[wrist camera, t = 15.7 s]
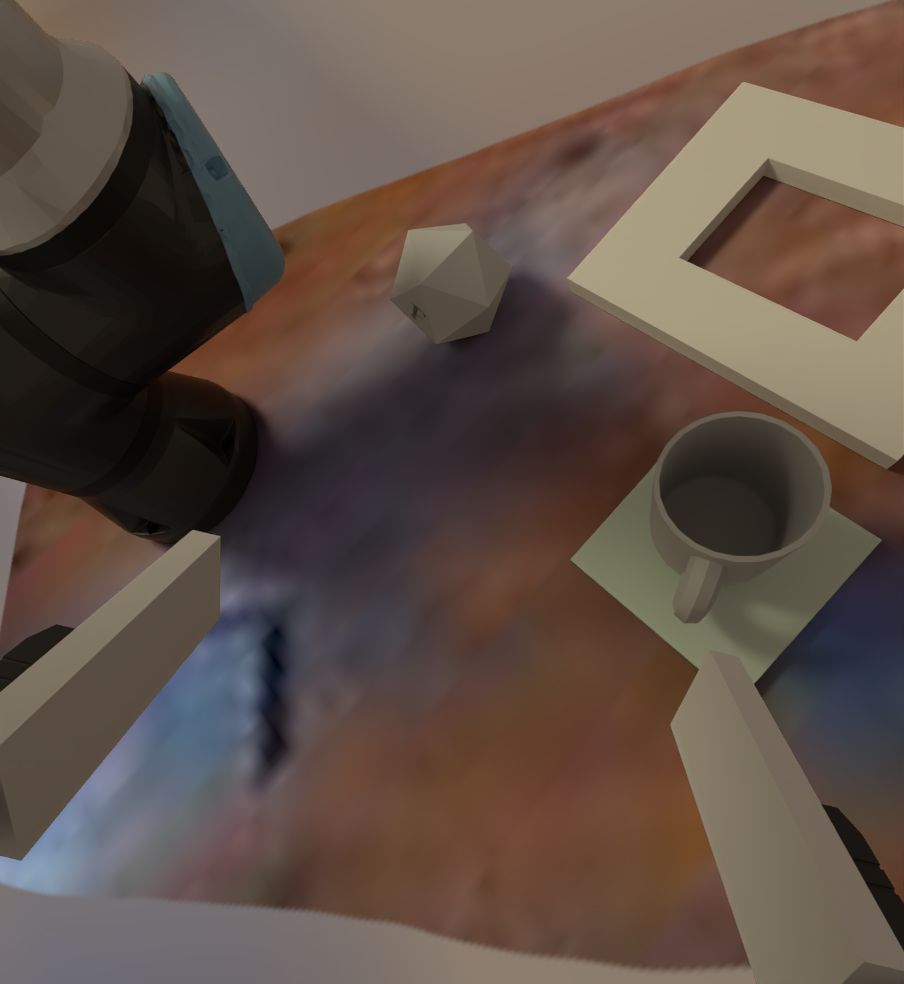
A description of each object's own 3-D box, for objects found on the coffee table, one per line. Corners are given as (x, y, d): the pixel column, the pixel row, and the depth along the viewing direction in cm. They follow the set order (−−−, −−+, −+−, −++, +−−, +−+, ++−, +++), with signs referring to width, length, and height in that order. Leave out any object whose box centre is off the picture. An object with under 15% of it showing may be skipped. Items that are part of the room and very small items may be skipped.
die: (415, 293, 47) (350, 295, 39) (471, 204, 42) (411, 185, 34) (480, 356, 46) (428, 371, 38) (544, 272, 41) (501, 270, 33)
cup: (796, 492, 31) (852, 433, 23) (744, 654, 29) (784, 651, 21) (670, 458, 34) (681, 395, 26) (617, 603, 32) (611, 585, 24)
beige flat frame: (569, 290, 41) (567, 278, 40) (739, 100, 41) (743, 81, 40) (886, 469, 31) (898, 460, 29) (1113, 214, 31) (1135, 194, 29)
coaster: (571, 561, 35) (570, 559, 34) (691, 427, 35) (692, 421, 34) (735, 701, 30) (737, 702, 29) (876, 542, 30) (882, 539, 29)
